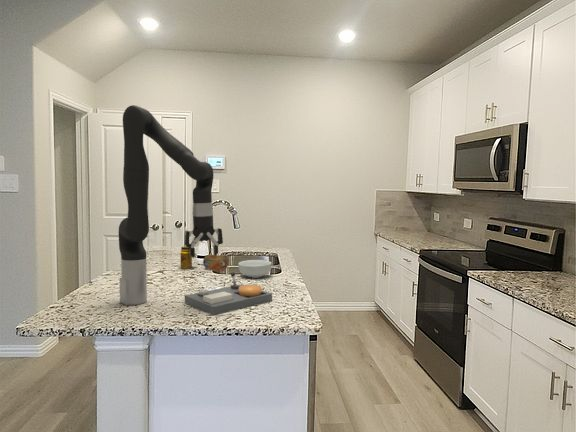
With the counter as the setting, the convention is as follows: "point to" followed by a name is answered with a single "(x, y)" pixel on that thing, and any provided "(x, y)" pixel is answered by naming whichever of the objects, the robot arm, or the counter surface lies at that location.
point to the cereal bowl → (255, 268)
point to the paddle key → (217, 297)
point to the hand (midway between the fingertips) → (204, 256)
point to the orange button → (250, 290)
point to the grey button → (203, 292)
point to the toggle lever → (233, 278)
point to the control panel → (228, 305)
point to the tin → (215, 262)
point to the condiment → (186, 259)
